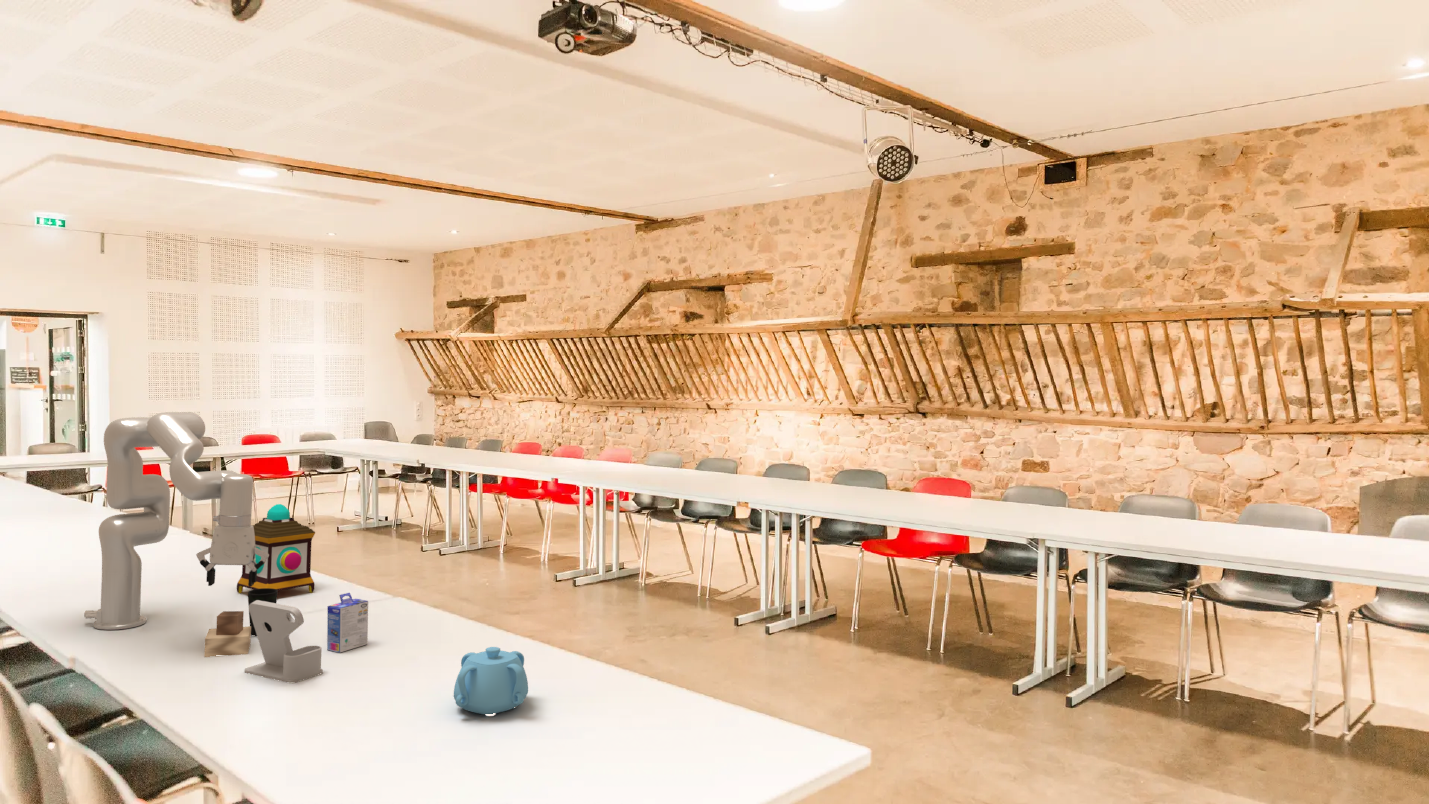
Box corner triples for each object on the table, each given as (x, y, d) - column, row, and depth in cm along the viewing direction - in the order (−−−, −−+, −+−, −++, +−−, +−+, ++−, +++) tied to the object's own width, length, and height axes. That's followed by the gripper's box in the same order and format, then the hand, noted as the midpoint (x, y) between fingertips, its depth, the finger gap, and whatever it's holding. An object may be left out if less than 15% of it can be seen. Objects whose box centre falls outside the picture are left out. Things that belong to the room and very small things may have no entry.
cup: (263, 638, 248) (265, 595, 248) (239, 635, 249) (241, 593, 249) (282, 631, 255) (283, 589, 255) (259, 628, 257) (260, 587, 257)
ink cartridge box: (353, 641, 249) (355, 589, 248) (368, 644, 246) (370, 592, 246) (324, 650, 240) (326, 596, 240) (340, 653, 237) (341, 599, 237)
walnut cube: (216, 635, 233) (216, 616, 233) (222, 629, 238) (223, 611, 238) (236, 634, 234) (237, 615, 234) (243, 629, 239) (243, 611, 239)
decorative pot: (522, 721, 196) (525, 659, 195) (447, 720, 194) (450, 658, 194) (530, 695, 212) (532, 638, 212) (460, 695, 210) (463, 637, 210)
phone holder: (326, 672, 222) (328, 600, 222) (292, 684, 213) (295, 609, 212) (275, 661, 229) (278, 591, 228) (241, 672, 219) (243, 599, 219)
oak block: (204, 658, 230) (204, 639, 230) (208, 647, 239) (209, 628, 239) (247, 655, 234) (248, 636, 234) (250, 644, 243) (251, 626, 243)
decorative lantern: (320, 592, 302) (323, 504, 302) (264, 603, 286) (267, 509, 285) (286, 583, 313) (289, 498, 313) (230, 593, 296) (233, 503, 296)
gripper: (194, 522, 231) (190, 588, 231) (267, 524, 235) (263, 588, 235) (203, 517, 238) (199, 581, 238) (273, 519, 242) (270, 582, 243)
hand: (231, 585), depth 237 cm, fingers open, 9 cm apart
